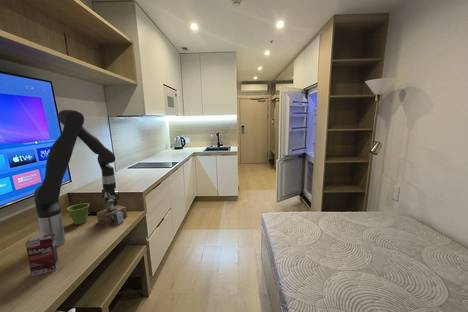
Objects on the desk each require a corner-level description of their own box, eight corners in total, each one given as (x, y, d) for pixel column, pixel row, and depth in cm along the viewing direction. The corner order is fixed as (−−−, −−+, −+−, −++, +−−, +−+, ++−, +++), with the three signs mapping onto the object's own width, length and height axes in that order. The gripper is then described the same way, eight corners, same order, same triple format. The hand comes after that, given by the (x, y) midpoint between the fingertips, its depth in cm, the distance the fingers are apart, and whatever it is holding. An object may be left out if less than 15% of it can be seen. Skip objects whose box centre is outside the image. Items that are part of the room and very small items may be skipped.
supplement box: (30, 277, 87) (24, 243, 84) (35, 270, 91) (29, 237, 88) (56, 270, 91) (51, 237, 88) (59, 264, 95) (54, 232, 92)
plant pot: (94, 217, 142) (93, 202, 140) (85, 226, 130) (82, 209, 129) (76, 219, 140) (74, 203, 139) (64, 227, 129) (62, 210, 127)
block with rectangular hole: (107, 225, 131) (106, 215, 130) (98, 222, 135) (96, 212, 134) (126, 216, 144) (126, 207, 143) (117, 214, 148) (116, 205, 147)
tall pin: (112, 221, 137) (109, 201, 135) (108, 220, 138) (106, 200, 136) (117, 218, 140) (115, 199, 138) (113, 217, 142) (111, 198, 140)
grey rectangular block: (118, 224, 132) (117, 214, 131) (114, 223, 134) (113, 213, 133) (123, 221, 136) (122, 212, 135) (119, 220, 138) (118, 211, 136)
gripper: (96, 182, 135) (99, 205, 137) (110, 184, 129) (113, 208, 132) (107, 179, 142) (109, 201, 144) (121, 181, 136) (123, 204, 138)
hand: (111, 204), depth 138 cm, fingers open, 8 cm apart
